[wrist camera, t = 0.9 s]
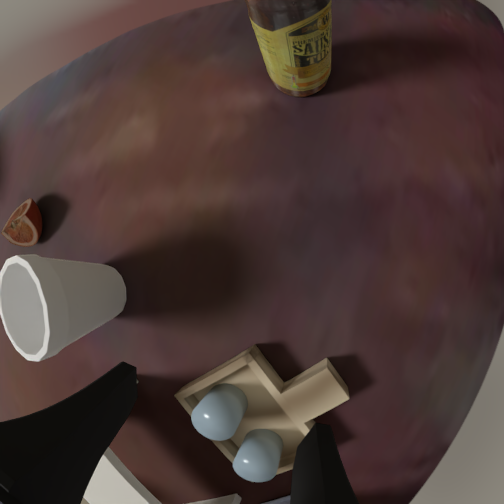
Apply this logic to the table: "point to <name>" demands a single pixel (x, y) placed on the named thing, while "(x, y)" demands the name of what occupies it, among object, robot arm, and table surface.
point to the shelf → (128, 486)
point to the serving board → (271, 400)
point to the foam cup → (56, 302)
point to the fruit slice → (24, 225)
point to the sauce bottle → (294, 42)
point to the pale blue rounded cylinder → (259, 455)
